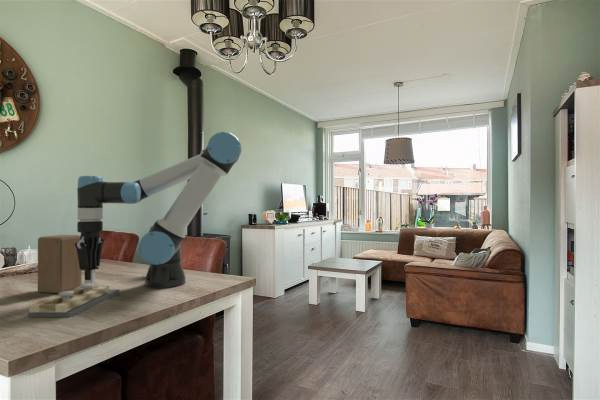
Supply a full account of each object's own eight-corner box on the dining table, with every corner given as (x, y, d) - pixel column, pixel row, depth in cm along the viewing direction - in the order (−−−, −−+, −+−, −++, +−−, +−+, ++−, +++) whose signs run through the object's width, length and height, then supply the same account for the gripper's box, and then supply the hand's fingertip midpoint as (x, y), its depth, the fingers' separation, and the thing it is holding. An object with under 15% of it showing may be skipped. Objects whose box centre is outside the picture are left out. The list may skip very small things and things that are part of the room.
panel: (80, 292, 119) (80, 286, 119) (109, 292, 119) (109, 286, 119) (29, 312, 97) (29, 305, 97) (65, 312, 97) (65, 305, 97)
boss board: (85, 292, 124) (85, 278, 124) (119, 292, 124) (119, 278, 124) (28, 316, 98) (28, 298, 98) (70, 316, 98) (70, 298, 98)
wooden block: (59, 294, 122) (59, 237, 122) (36, 293, 124) (36, 237, 124) (82, 287, 132) (82, 234, 132) (60, 286, 134) (60, 234, 134)
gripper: (91, 219, 127) (90, 284, 126) (66, 221, 114) (66, 293, 113) (111, 219, 127) (111, 284, 126) (89, 221, 114) (88, 293, 113)
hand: (89, 288), depth 120 cm, fingers closed
